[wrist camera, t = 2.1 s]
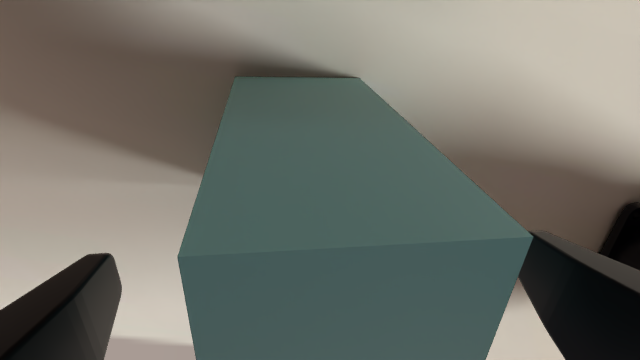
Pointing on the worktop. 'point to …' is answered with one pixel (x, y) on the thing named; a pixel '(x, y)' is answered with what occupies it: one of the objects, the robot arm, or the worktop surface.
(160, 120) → the worktop surface
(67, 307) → the robot arm
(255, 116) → the peg
